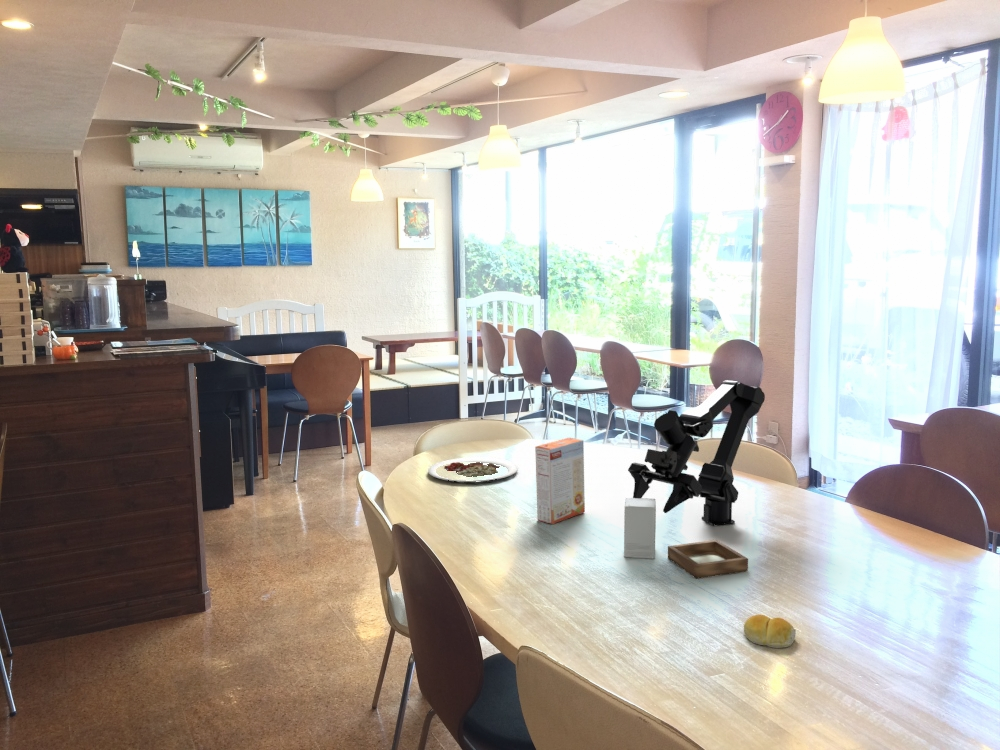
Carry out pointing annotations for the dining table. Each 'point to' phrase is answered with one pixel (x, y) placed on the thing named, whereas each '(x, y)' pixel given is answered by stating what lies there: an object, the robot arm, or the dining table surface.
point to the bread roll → (769, 631)
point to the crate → (707, 559)
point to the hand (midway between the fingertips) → (648, 507)
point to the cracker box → (560, 480)
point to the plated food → (474, 468)
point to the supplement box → (639, 528)
